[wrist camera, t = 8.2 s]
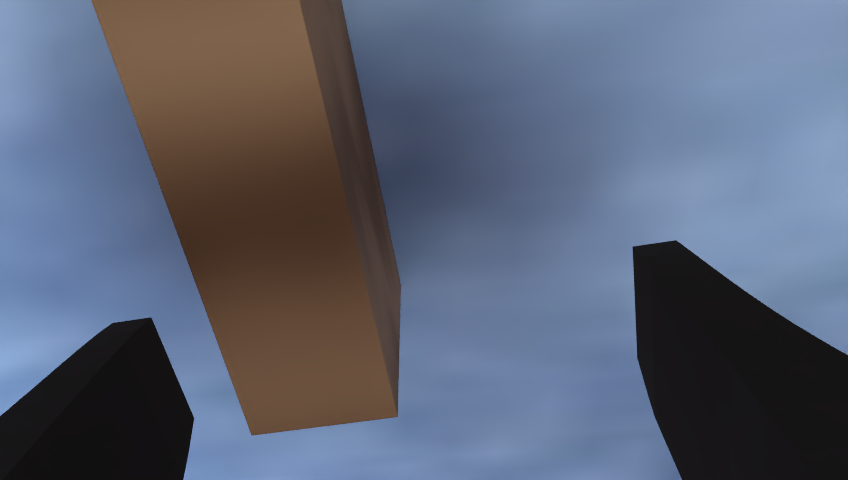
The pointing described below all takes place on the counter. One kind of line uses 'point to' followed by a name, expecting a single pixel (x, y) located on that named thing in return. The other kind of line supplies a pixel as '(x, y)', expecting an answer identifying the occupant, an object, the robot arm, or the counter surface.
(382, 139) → the counter surface
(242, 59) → the brown rectangular block
